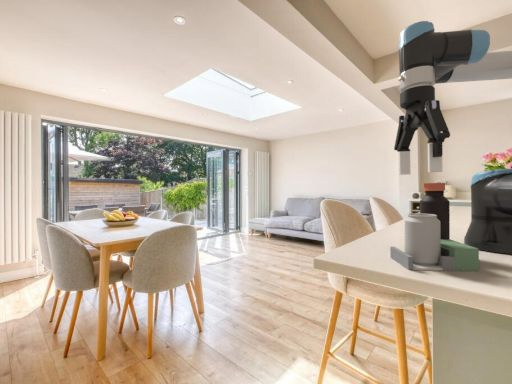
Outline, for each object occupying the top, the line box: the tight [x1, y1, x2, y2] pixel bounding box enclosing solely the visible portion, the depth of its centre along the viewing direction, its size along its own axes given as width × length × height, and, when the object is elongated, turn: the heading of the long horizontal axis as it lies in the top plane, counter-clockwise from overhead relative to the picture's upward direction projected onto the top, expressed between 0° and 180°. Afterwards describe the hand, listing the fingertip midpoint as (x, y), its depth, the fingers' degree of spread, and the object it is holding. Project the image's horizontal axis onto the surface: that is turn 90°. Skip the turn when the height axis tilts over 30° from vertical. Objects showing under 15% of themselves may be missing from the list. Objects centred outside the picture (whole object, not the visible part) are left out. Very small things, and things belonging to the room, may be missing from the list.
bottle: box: [419, 182, 451, 240], centre depth 72 cm, size 7×7×20 cm
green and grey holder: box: [389, 239, 480, 272], centre depth 63 cm, size 15×10×5 cm, turn 84°
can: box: [404, 212, 441, 265], centre depth 63 cm, size 8×8×12 cm
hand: (418, 173), depth 65 cm, fingers open, 13 cm apart
